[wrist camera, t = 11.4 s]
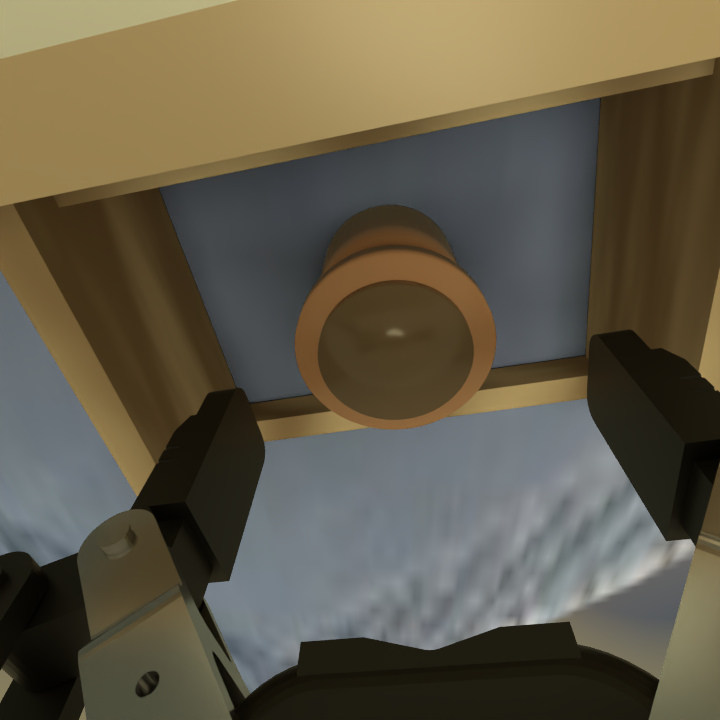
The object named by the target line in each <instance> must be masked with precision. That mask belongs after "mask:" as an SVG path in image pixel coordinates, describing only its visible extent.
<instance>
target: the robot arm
mask: <svg viewBox="0 0 720 720" xmlns="http://www.w3.org/2000/svg"><path fill="white" fill-rule="evenodd" d="M587 401H588V406H589V410H590V413H591V416H592V418H593V420H594V422H595V424H596V425H597V427H598V429H599V430H600V432H601V434H602V435H603V437H604V439H605V440H606V442H607V444H608V445H609V447H610V449H611V450H612V452H613V454H614V455H615V457H616V459H617V460H618V462H619V464H620V465H621V467H622V469H623V470H624V472H625V474H626V475H627V477H628V478H629V480H630V482H631V483H632V485H633V487H634V488H635V490H636V492H637V493H638V495H639V497H640V498H641V500H642V502H643V503H644V505H645V507H646V508H647V510H648V512H649V513H650V515H651V517H652V518H653V520H654V522H655V523H656V525H657V527H658V528H659V530H660V532H661V533H662V535H663V536H664V538H665V540H666V541H672V540H682V539H691V540H692V542H693V543H694V545H695V546H696V548H695V552H694V555H693V559H692V563H691V566H690V570H689V574H688V577H687V581H686V585H685V589H684V592H683V596H682V600H681V604H680V607H679V610H678V614H677V618H676V621H675V625H674V629H673V632H672V636H671V640H670V644H669V647H668V651H667V654H666V658H665V662H664V665H663V669H662V673H661V676H660V680H659V679H657V678H656V677H654V676H652V675H651V674H650V673H648V672H647V671H645V670H643V669H641V668H639V667H637V666H636V665H634V664H632V663H630V662H628V661H626V660H624V659H622V658H619V657H617V656H615V655H612V654H610V653H607V652H604V651H601V650H597V649H594V648H591V647H587V646H583V645H578V644H577V642H576V640H575V636H574V633H573V631H572V628H571V625H570V622H560V623H546V624H533V625H520V626H507V627H499V628H496V629H493V630H490V631H487V632H485V633H482V634H479V635H476V636H473V637H471V638H468V639H465V640H462V641H459V642H457V643H454V644H451V645H448V646H445V647H443V648H440V649H436V650H423V649H418V648H413V647H408V646H403V645H398V644H393V643H388V642H383V641H379V640H374V639H369V638H364V637H362V638H349V639H336V640H322V641H309V642H301V645H300V653H299V660H298V665H296V666H293V667H291V668H289V669H287V670H285V671H283V672H281V673H279V674H277V675H275V676H274V677H272V678H271V679H269V680H268V681H266V682H265V683H263V684H262V685H260V686H259V687H258V688H257V689H256V690H254V691H253V692H252V693H251V694H250V692H249V690H248V688H247V687H246V685H245V683H244V681H243V679H242V677H241V675H240V673H239V671H238V669H237V667H236V664H235V662H234V660H233V658H232V656H231V653H230V651H229V649H228V647H227V645H226V643H225V640H224V638H223V636H222V634H221V632H220V629H219V627H218V625H217V623H216V621H215V618H214V616H213V614H212V612H211V610H210V607H209V605H208V603H207V602H206V600H205V598H204V594H205V591H206V588H207V585H208V583H212V582H223V581H229V580H230V576H231V573H232V570H233V566H234V563H235V559H236V556H237V552H238V549H239V546H240V542H241V539H242V535H243V532H244V529H245V525H246V522H247V518H248V515H249V512H250V508H251V505H252V501H253V498H254V494H255V491H256V488H257V484H258V481H259V477H260V474H261V471H262V467H263V464H264V459H265V446H264V440H263V437H262V434H261V431H260V429H259V426H258V424H257V421H256V419H255V416H254V414H253V411H252V409H251V406H250V404H249V401H248V399H247V396H246V394H245V392H244V391H243V390H242V389H241V388H234V389H227V390H221V391H214V392H209V393H208V394H207V395H206V397H205V399H204V401H203V403H202V405H201V407H200V409H199V410H198V412H197V414H196V415H191V416H190V417H189V418H188V419H187V420H185V421H184V422H183V423H182V424H181V425H180V426H179V427H178V428H177V429H176V430H175V431H174V433H173V435H172V437H171V438H170V440H169V442H168V444H167V445H166V450H164V451H163V453H162V454H161V456H160V458H159V460H158V461H159V463H157V464H156V465H155V467H154V468H153V470H152V472H151V474H150V476H149V477H148V479H147V481H146V483H145V484H144V486H143V488H142V490H141V492H140V493H139V495H138V497H137V499H136V500H135V502H134V504H133V506H132V508H131V509H130V510H128V511H125V512H122V513H119V514H117V515H115V516H113V517H111V518H109V519H108V520H106V521H104V522H103V523H102V524H100V525H99V526H98V527H97V528H96V529H94V530H93V531H92V532H91V533H90V535H89V536H88V537H87V538H86V539H85V541H84V542H83V544H82V546H81V547H80V550H79V552H78V553H76V554H73V555H71V556H68V557H65V558H63V559H60V560H57V561H55V562H52V563H49V564H47V565H44V566H41V567H40V566H39V565H38V564H37V563H36V562H35V561H34V559H33V558H32V557H31V556H30V555H29V554H28V553H25V552H11V553H7V554H4V555H1V556H0V670H1V668H2V669H3V670H4V671H5V672H6V673H7V674H9V675H10V676H11V677H12V678H13V681H12V683H11V684H10V686H9V688H8V690H7V692H6V693H5V695H4V697H3V699H2V701H1V703H0V720H79V718H80V715H81V713H82V710H83V708H84V706H85V712H86V719H87V720H720V392H719V391H718V390H716V391H715V389H714V386H713V385H712V384H711V383H710V382H709V381H708V380H707V379H706V378H704V377H703V378H702V377H701V374H700V373H699V372H698V371H697V370H696V369H695V368H694V367H693V366H692V365H691V364H690V363H689V362H688V361H687V360H686V359H684V358H682V357H680V356H678V355H675V354H673V353H671V352H669V351H667V350H665V349H663V348H657V349H650V348H649V347H648V346H647V344H646V343H645V342H644V341H643V340H642V339H641V338H640V337H639V336H638V335H637V334H636V333H635V332H634V331H633V330H630V329H628V330H621V331H615V332H608V333H602V334H595V335H593V336H592V337H591V339H590V343H589V360H588V380H587Z"/></svg>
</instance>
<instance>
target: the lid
mask: <svg viewBox="0 0 720 720" xmlns="http://www.w3.org/2000/svg"><path fill="white" fill-rule="evenodd" d="M717 57H720V0H0V206H4V205H8V204H13V203H18V202H23V201H28V200H32V199H37V198H42V197H47V196H52V195H57V194H61V193H66V192H71V191H76V190H81V189H85V188H90V187H95V186H100V185H105V184H110V183H114V182H119V181H124V180H129V179H134V178H138V177H143V176H148V175H153V174H158V173H163V172H167V171H172V170H177V169H182V168H187V167H191V166H196V165H201V164H206V163H211V162H216V161H220V160H225V159H230V158H235V157H240V156H244V155H249V154H254V153H259V152H264V151H269V150H273V149H278V148H283V147H288V146H293V145H297V144H302V143H307V142H312V141H317V140H322V139H326V138H331V137H336V136H341V135H346V134H350V133H355V132H360V131H365V130H370V129H375V128H379V127H384V126H389V125H394V124H399V123H403V122H408V121H413V120H418V119H423V118H428V117H432V116H437V115H442V114H447V113H452V112H456V111H461V110H466V109H471V108H476V107H481V106H485V105H490V104H495V103H500V102H505V101H509V100H514V99H519V98H524V97H529V96H534V95H538V94H543V93H548V92H553V91H558V90H562V89H567V88H572V87H577V86H582V85H587V84H591V83H596V82H601V81H606V80H611V79H615V78H620V77H625V76H630V75H635V74H640V73H644V72H649V71H654V70H659V69H664V68H668V67H673V66H678V65H683V64H688V63H693V62H697V61H702V60H707V59H712V58H717Z"/></svg>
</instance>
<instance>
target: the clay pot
mask: <svg viewBox="0 0 720 720" xmlns="http://www.w3.org/2000/svg"><path fill="white" fill-rule="evenodd" d="M495 350H496V330H495V323H494V320H493V316H492V313H491V311H490V309H489V307H488V304H487V302H486V300H485V298H484V296H483V294H482V292H481V290H480V289H479V287H478V286H477V284H476V283H475V281H474V280H473V279H472V278H471V276H470V275H469V274H468V273H467V272H466V271H465V270H464V269H463V268H461V267H460V266H459V265H458V263H457V261H456V259H455V256H454V254H453V252H452V250H451V247H450V245H449V243H448V241H447V239H446V237H445V235H444V233H443V232H442V230H441V229H440V228H439V227H438V226H437V224H436V223H435V222H434V221H432V220H431V219H430V218H429V217H427V216H426V215H424V214H423V213H421V212H419V211H417V210H414V209H412V208H408V207H405V206H398V205H382V206H376V207H372V208H368V209H366V210H364V211H361V212H359V213H357V214H356V215H354V216H352V217H351V218H350V219H348V220H347V221H346V222H345V223H344V224H343V225H342V226H341V227H340V228H339V229H338V231H337V232H336V233H335V235H334V237H333V238H332V240H331V242H330V244H329V247H328V250H327V254H326V257H325V261H324V265H323V269H322V273H321V277H320V278H319V279H318V281H317V282H316V283H315V285H314V286H313V287H312V289H311V290H310V292H309V294H308V296H307V297H306V300H305V302H304V305H303V307H302V310H301V313H300V317H299V320H298V324H297V329H296V334H295V355H296V359H297V364H298V367H299V370H300V373H301V375H302V377H303V379H304V381H305V383H306V385H307V386H308V388H309V389H310V390H311V392H312V393H313V394H314V396H315V397H316V398H317V399H318V400H319V401H320V402H321V403H322V404H323V405H325V406H326V407H327V408H328V409H330V410H331V411H333V412H334V413H336V414H337V415H339V416H341V417H343V418H345V419H347V420H349V421H351V422H354V423H357V424H360V425H363V426H368V427H372V428H379V429H408V428H414V427H419V426H423V425H426V424H430V423H433V422H435V421H437V420H440V419H442V418H444V417H446V416H448V415H450V414H451V413H453V412H455V411H456V410H457V409H459V408H460V407H462V406H463V405H464V404H465V403H466V402H467V401H469V400H470V399H471V398H472V397H473V396H474V394H475V393H476V392H477V391H478V390H479V388H480V387H481V386H482V384H483V383H484V381H485V379H486V377H487V375H488V373H489V371H490V369H491V366H492V363H493V360H494V356H495Z"/></svg>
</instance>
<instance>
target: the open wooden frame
mask: <svg viewBox="0 0 720 720" xmlns="http://www.w3.org/2000/svg"><path fill="white" fill-rule="evenodd" d="M599 97H601V104H600V121H599V138H598V155H597V172H596V189H595V205H594V222H593V239H592V256H591V273H590V289H589V306H588V323H587V340H586V356H580V357H573V358H566V359H559V360H552V361H545V362H538V363H531V364H524V365H517V366H510V367H503V368H496V369H490V371H489V373H488V375H487V377H486V379H485V381H484V383H483V384H482V386H481V387H480V388H479V390H478V391H477V392H476V393H475V394H474V396H473V397H472V398H471V399H470V400H469V401H467V402H466V403H465V404H464V405H463V406H462V407H460V408H459V409H457V410H456V411H455V412H453V413H451V414H450V415H448V416H446V417H451V416H459V415H466V414H474V413H481V412H489V411H496V410H504V409H511V408H519V407H526V406H534V405H541V404H548V403H556V402H563V401H571V400H578V399H586V398H587V380H588V360H589V343H590V339H591V337H592V336H593V335H595V334H602V333H608V332H615V331H621V330H628V329H630V330H633V331H634V332H635V333H636V334H637V335H638V336H639V337H640V338H641V339H642V340H643V341H644V342H645V343H646V344H647V346H648V347H649V348H650V349H657V348H663V349H665V350H667V351H669V352H671V353H673V354H675V355H678V356H680V357H682V358H684V359H686V360H687V361H688V362H689V363H690V364H691V365H692V366H693V367H694V368H695V369H696V370H697V371H698V372H699V373H700V374H701V377H702V378H703V377H704V378H706V379H707V380H708V381H709V382H710V383H711V384H712V385H713V386H714V389H715V391H716V390H718V391H719V392H720V57H717V58H712V59H707V60H702V61H697V62H693V63H688V64H683V65H678V66H673V67H668V68H664V69H659V70H654V71H649V72H644V73H640V74H635V75H630V76H625V77H620V78H615V79H611V80H606V81H601V82H596V83H591V84H587V85H582V86H577V87H572V88H567V89H562V90H558V91H553V92H548V93H543V94H538V95H534V96H529V97H524V98H519V99H514V100H509V101H505V102H500V103H495V104H490V105H485V106H481V107H476V108H471V109H466V110H461V111H456V112H452V113H447V114H442V115H437V116H432V117H428V118H423V119H418V120H413V121H408V122H403V123H399V124H394V125H389V126H384V127H379V128H375V129H370V130H365V131H360V132H355V133H350V134H346V135H341V136H336V137H331V138H326V139H322V140H317V141H312V142H307V143H302V144H297V145H293V146H288V147H283V148H278V149H273V150H269V151H264V152H259V153H254V154H249V155H244V156H240V157H235V158H230V159H225V160H220V161H216V162H211V163H206V164H201V165H196V166H191V167H187V168H182V169H177V170H172V171H167V172H163V173H158V174H153V175H148V176H143V177H138V178H134V179H129V180H124V181H119V182H114V183H110V184H105V185H100V186H95V187H90V188H85V189H81V190H76V191H71V192H66V193H61V194H57V195H52V196H47V197H42V198H37V199H32V200H28V201H23V202H18V203H13V204H8V205H4V206H0V270H1V272H2V273H3V275H4V277H5V278H6V280H7V282H8V283H9V285H10V287H11V288H12V290H13V292H14V293H15V295H16V297H17V298H18V300H19V302H20V303H21V305H22V307H23V308H24V310H25V312H26V313H27V315H28V317H29V318H30V320H31V322H32V323H33V325H34V326H35V328H36V330H37V331H38V333H39V335H40V336H41V338H42V340H43V341H44V343H45V345H46V346H47V348H48V350H49V351H50V353H51V355H52V356H53V358H54V360H55V361H56V363H57V365H58V366H59V368H60V370H61V371H62V373H63V375H64V376H65V378H66V379H67V381H68V383H69V384H70V386H71V388H72V389H73V391H74V393H75V394H76V396H77V398H78V399H79V401H80V403H81V404H82V406H83V408H84V409H85V411H86V413H87V414H88V416H89V418H90V419H91V421H92V423H93V424H94V426H95V428H96V429H97V431H98V432H99V434H100V436H101V437H102V439H103V441H104V442H105V444H106V446H107V447H108V449H109V451H110V452H111V454H112V456H113V457H114V459H115V461H116V462H117V464H118V466H119V467H120V469H121V471H122V472H123V474H124V476H125V477H126V479H127V481H128V482H129V484H130V485H131V487H132V489H133V490H134V492H135V494H136V495H137V497H138V495H139V493H140V492H141V490H142V488H143V486H144V484H145V483H146V481H147V479H148V477H149V476H150V474H151V472H152V470H153V468H154V467H155V465H156V464H157V463H159V461H158V460H159V458H160V456H161V454H162V453H163V451H164V450H166V445H167V444H168V442H169V440H170V438H171V437H172V435H173V433H174V431H175V430H176V429H177V428H178V427H179V426H180V425H181V424H182V423H183V422H184V421H185V420H187V419H188V418H189V417H190V416H191V415H196V414H197V412H198V410H199V409H200V407H201V405H202V403H203V401H204V399H205V397H206V395H207V394H208V393H209V392H214V391H221V390H227V389H234V388H236V386H235V383H234V381H233V378H232V376H231V373H230V371H229V368H228V365H227V363H226V360H225V358H224V355H223V353H222V350H221V347H220V345H219V342H218V340H217V337H216V335H215V332H214V330H213V327H212V324H211V322H210V319H209V317H208V314H207V312H206V309H205V307H204V304H203V301H202V299H201V296H200V294H199V291H198V289H197V286H196V283H195V281H194V278H193V276H192V273H191V271H190V268H189V266H188V263H187V260H186V258H185V255H184V253H183V250H182V248H181V245H180V242H179V240H178V237H177V235H176V232H175V230H174V227H173V225H172V222H171V219H170V217H169V214H168V212H167V209H166V207H165V204H164V201H163V199H162V196H161V194H160V191H159V189H158V187H163V186H168V185H173V184H178V183H182V182H187V181H192V180H197V179H202V178H207V177H212V176H217V175H222V174H227V173H231V172H236V171H241V170H246V169H251V168H256V167H261V166H266V165H271V164H276V163H281V162H285V161H290V160H295V159H300V158H305V157H310V156H315V155H320V154H325V153H330V152H334V151H339V150H344V149H349V148H354V147H359V146H364V145H369V144H374V143H379V142H384V141H388V140H393V139H398V138H403V137H408V136H413V135H418V134H423V133H428V132H433V131H437V130H442V129H447V128H452V127H457V126H462V125H467V124H472V123H477V122H482V121H487V120H491V119H496V118H501V117H506V116H511V115H516V114H521V113H526V112H531V111H536V110H540V109H545V108H550V107H555V106H560V105H565V104H570V103H575V102H580V101H585V100H590V99H594V98H599ZM250 406H251V409H252V411H253V414H254V416H255V419H256V421H257V424H258V426H259V429H260V431H261V434H262V437H263V440H264V442H265V441H272V440H280V439H287V438H295V437H302V436H310V435H317V434H325V433H332V432H340V431H347V430H354V429H362V428H369V427H368V426H363V425H360V424H357V423H354V422H351V421H349V420H347V419H345V418H343V417H341V416H339V415H337V414H336V413H334V412H333V411H331V410H330V409H328V408H327V407H326V406H325V405H323V404H322V403H321V402H320V401H319V400H318V399H317V398H316V397H315V396H314V395H309V396H302V397H295V398H288V399H281V400H274V401H267V402H260V403H253V404H250Z"/></svg>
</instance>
